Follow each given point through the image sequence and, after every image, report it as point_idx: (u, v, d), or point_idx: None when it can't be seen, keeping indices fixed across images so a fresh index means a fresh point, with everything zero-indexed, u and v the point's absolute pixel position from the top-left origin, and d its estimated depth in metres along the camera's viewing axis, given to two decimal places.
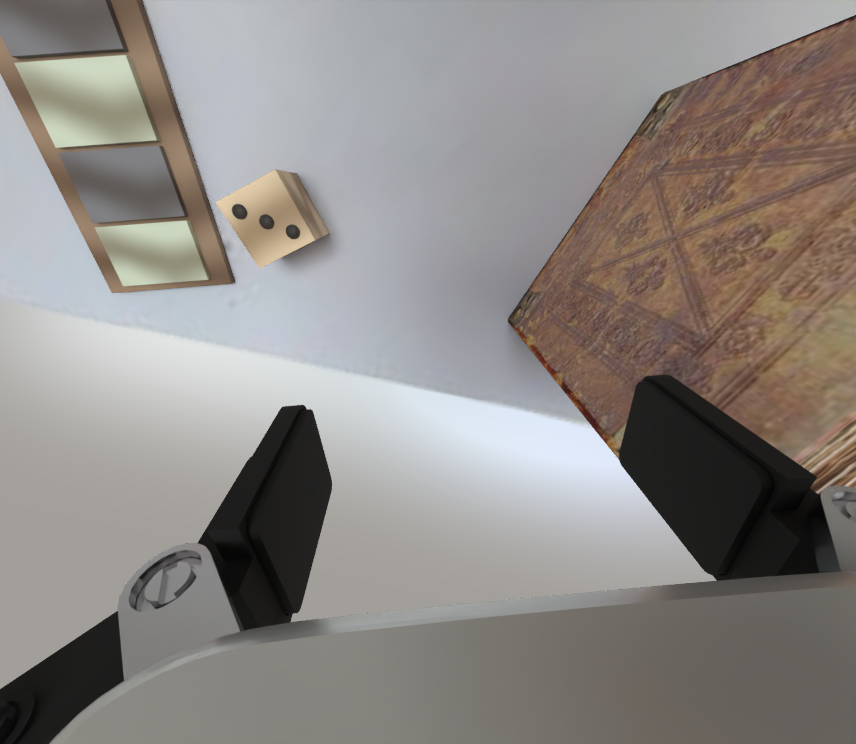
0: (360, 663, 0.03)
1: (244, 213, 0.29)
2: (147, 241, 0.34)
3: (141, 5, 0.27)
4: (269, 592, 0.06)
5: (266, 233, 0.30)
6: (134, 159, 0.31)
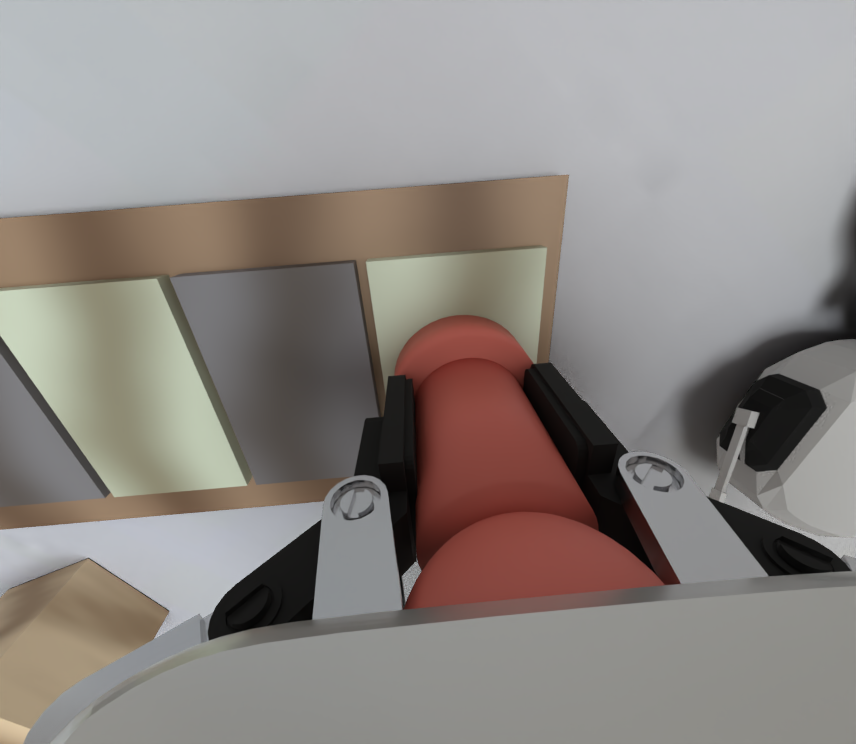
0: (360, 663, 0.03)
1: None
2: None
3: None
4: (411, 524, 0.08)
5: None
6: (48, 454, 0.14)
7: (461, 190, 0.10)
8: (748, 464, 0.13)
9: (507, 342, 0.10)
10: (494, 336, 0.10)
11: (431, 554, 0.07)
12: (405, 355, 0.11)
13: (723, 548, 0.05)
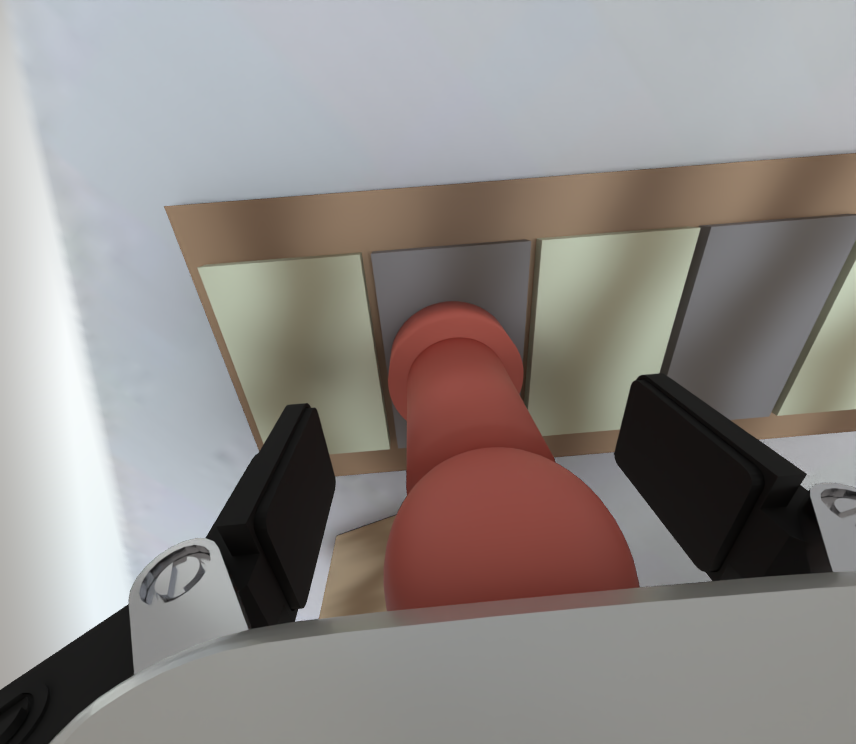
0: (360, 663, 0.03)
1: None
2: (338, 368, 0.14)
3: None
4: (276, 587, 0.07)
5: None
6: None
7: None
8: None
9: (489, 323, 0.12)
10: (478, 318, 0.12)
11: None
12: (400, 336, 0.13)
13: None
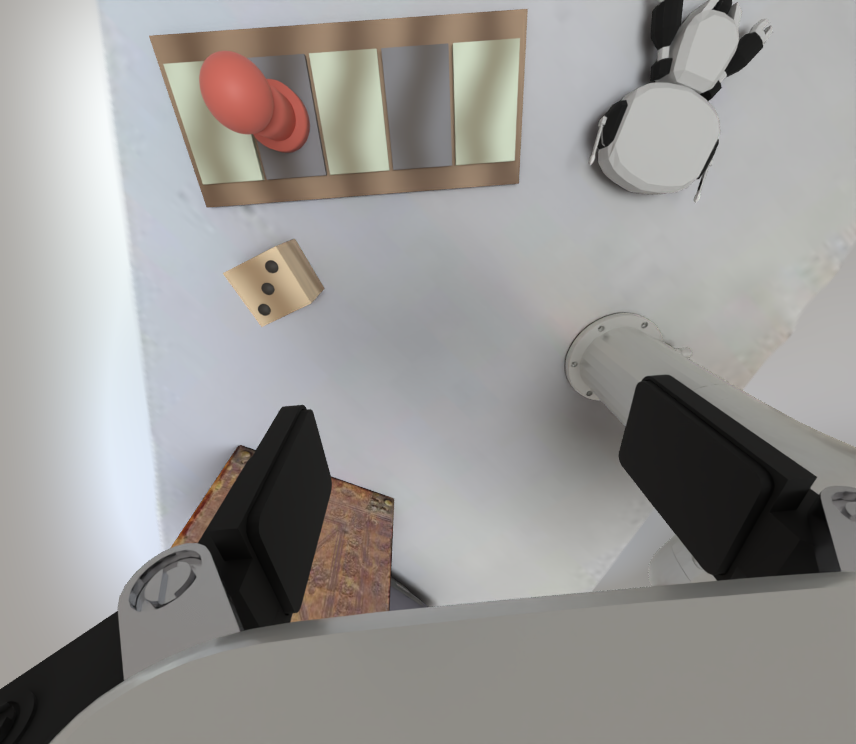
0: (360, 663, 0.03)
1: (271, 270, 0.33)
2: None
3: (422, 190, 0.35)
4: (269, 592, 0.06)
5: (257, 286, 0.33)
6: (310, 143, 0.32)
7: (488, 14, 0.29)
8: (603, 142, 0.31)
9: None
10: (277, 81, 0.28)
11: None
12: None
13: None
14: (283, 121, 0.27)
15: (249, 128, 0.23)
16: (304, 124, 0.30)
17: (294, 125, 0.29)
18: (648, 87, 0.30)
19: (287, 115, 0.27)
